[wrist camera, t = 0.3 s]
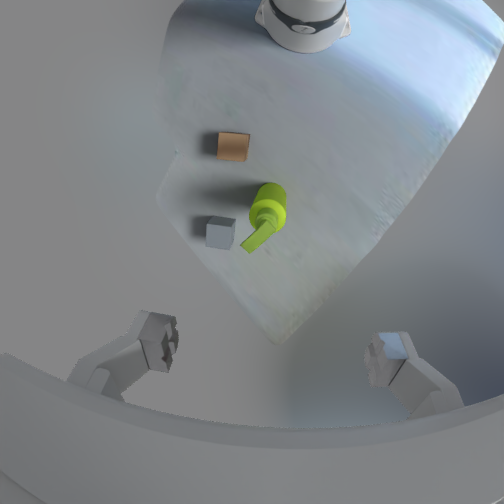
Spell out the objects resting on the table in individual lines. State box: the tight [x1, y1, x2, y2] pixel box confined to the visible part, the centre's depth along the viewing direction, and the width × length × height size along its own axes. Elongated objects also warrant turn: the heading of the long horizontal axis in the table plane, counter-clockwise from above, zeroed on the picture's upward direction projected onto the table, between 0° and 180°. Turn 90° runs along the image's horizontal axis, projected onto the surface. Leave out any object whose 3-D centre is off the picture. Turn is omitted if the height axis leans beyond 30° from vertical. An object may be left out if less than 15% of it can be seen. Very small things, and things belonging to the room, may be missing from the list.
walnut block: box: [217, 132, 250, 162], centre depth 50 cm, size 5×5×5 cm
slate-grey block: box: [206, 216, 236, 250], centre depth 58 cm, size 5×5×5 cm
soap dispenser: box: [240, 183, 286, 254], centre depth 47 cm, size 6×7×20 cm
